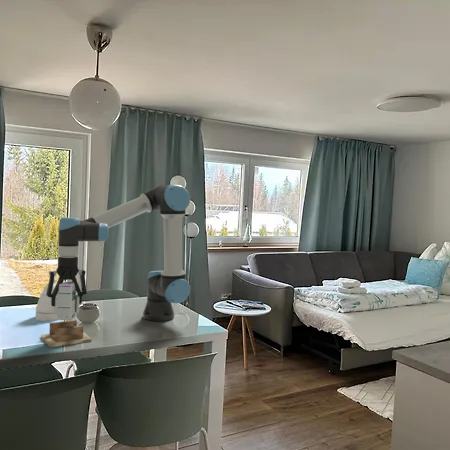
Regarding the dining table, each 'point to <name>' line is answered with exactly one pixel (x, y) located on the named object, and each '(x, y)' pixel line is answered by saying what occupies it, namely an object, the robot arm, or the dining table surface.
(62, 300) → the syrup box
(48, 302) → the honey pot
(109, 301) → the dining table surface
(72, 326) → the square wooden frame
